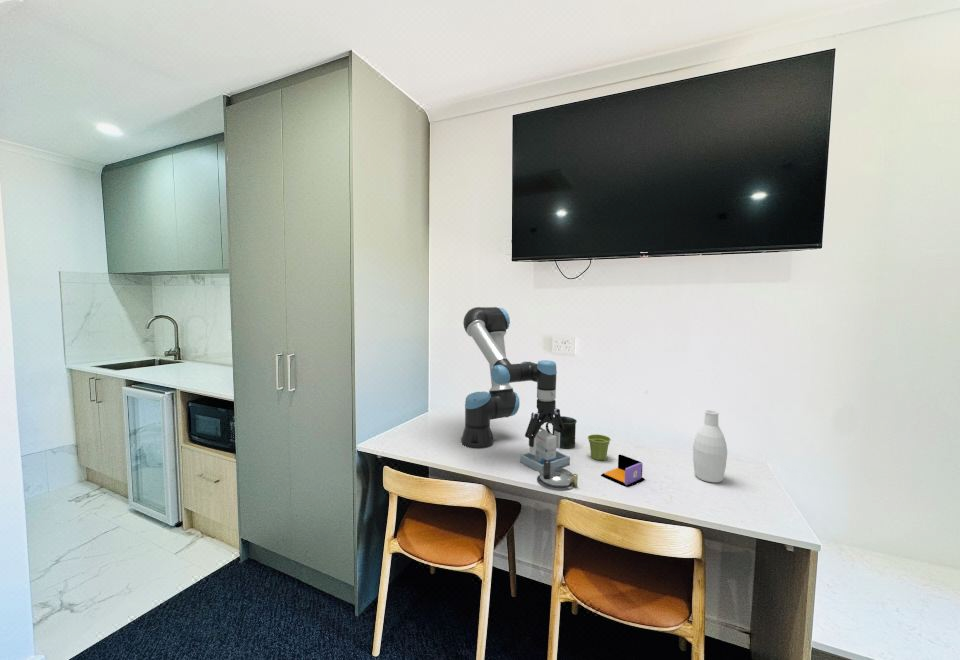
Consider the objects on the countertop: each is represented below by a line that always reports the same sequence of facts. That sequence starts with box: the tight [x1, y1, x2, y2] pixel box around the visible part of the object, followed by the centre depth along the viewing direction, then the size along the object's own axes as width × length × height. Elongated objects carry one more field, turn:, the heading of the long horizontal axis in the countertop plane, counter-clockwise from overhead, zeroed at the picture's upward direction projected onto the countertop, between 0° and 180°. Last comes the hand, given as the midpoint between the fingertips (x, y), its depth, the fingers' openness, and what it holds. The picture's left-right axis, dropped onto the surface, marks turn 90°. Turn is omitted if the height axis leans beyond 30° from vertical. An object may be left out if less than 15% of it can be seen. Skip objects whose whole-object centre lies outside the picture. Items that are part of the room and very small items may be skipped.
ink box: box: [535, 427, 557, 464], centre depth 151 cm, size 9×5×15 cm, turn 26°
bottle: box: [692, 409, 728, 484], centre depth 141 cm, size 11×11×25 cm
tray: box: [519, 450, 571, 474], centre depth 151 cm, size 13×16×4 cm
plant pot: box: [587, 433, 612, 461], centre depth 158 cm, size 9×9×9 cm
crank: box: [539, 460, 574, 488], centre depth 135 cm, size 12×12×8 cm
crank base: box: [536, 473, 579, 492], centre depth 135 cm, size 14×14×5 cm
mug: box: [545, 415, 578, 450], centre depth 173 cm, size 11×15×12 cm
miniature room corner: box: [600, 454, 646, 488], centre depth 140 cm, size 12×12×7 cm
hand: (545, 450), depth 151 cm, fingers open, 13 cm apart
